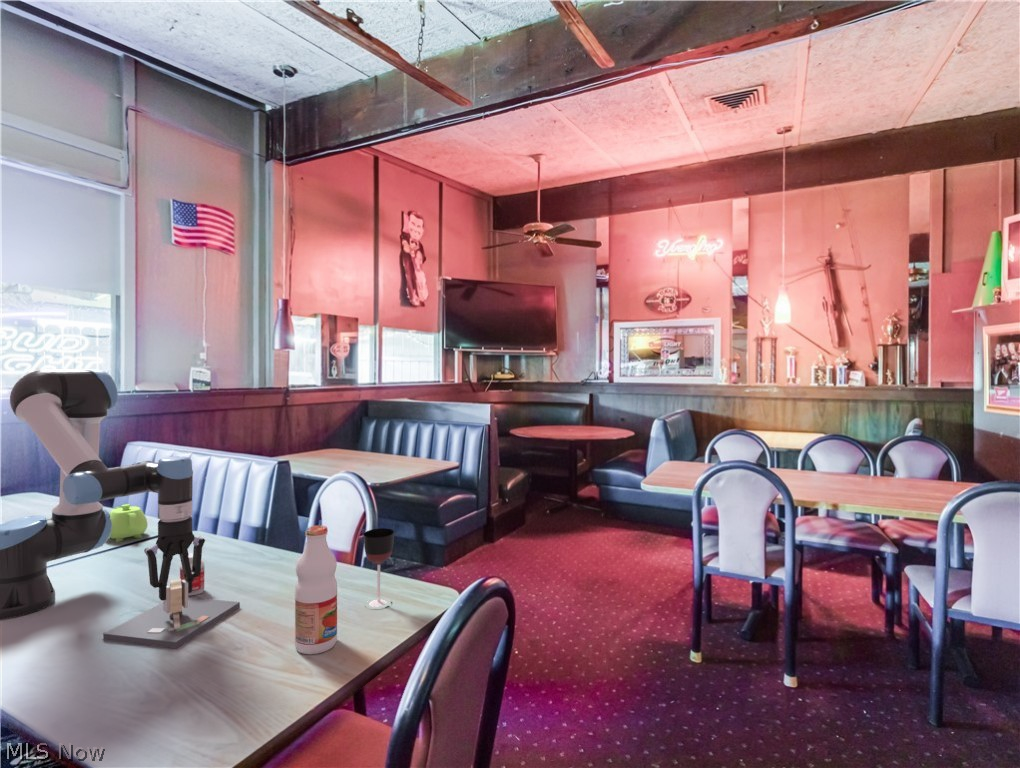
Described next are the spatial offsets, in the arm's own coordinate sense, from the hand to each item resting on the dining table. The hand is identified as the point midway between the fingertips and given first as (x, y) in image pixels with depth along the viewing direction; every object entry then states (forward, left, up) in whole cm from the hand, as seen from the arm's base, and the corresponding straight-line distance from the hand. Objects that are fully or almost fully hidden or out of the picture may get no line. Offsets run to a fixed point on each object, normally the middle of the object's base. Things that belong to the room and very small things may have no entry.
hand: (175, 608), depth 138 cm
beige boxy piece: (+2, -2, -2) cm, 3 cm away
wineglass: (+46, +21, -4) cm, 51 cm away
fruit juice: (+41, -3, -4) cm, 41 cm away
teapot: (-73, +56, -4) cm, 92 cm away
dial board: (0, 0, -4) cm, 4 cm away
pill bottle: (-10, +17, -4) cm, 20 cm away
